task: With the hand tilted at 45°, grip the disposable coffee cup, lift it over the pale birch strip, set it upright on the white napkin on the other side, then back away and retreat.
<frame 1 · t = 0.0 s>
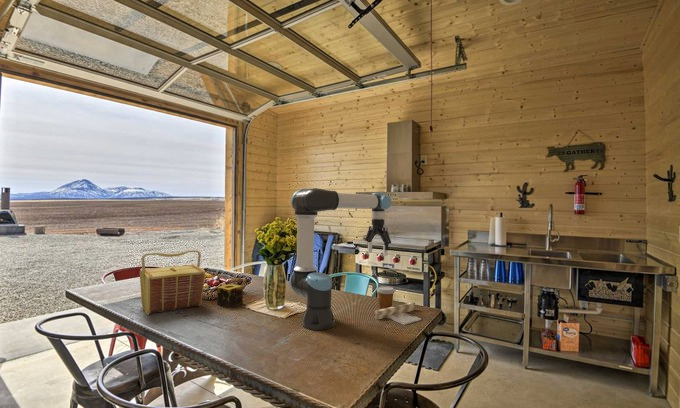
hand: (377, 254, 193), 28 cm above the table, tool pointing down, fingers open, 13 cm apart
white napkin: (403, 319, 163), on the table
picnic basket: (171, 307, 175), on the table
jamb strip: (395, 314, 170), on the table
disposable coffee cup: (385, 310, 177), on the table
candle: (229, 304, 183), on the table
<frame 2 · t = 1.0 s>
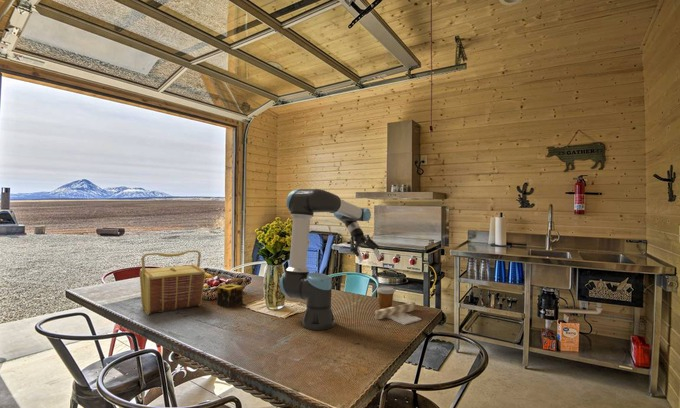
hand: (371, 259, 187), 26 cm above the table, tool tilted 45°, fingers open, 13 cm apart
nothing on the table moved.
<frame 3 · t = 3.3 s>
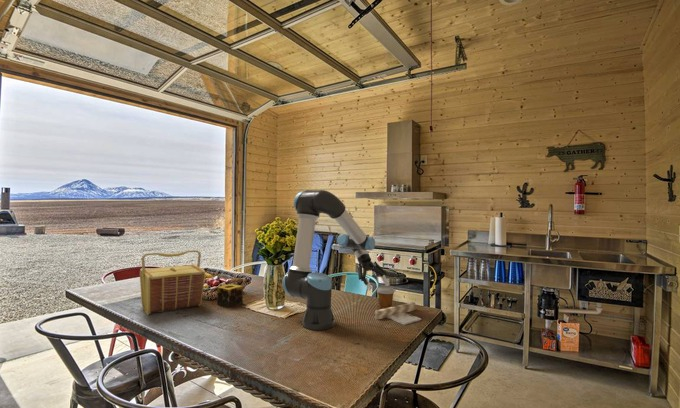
hand: (379, 287, 183), 11 cm above the table, tool tilted 45°, fingers open, 13 cm apart
nothing on the table moved.
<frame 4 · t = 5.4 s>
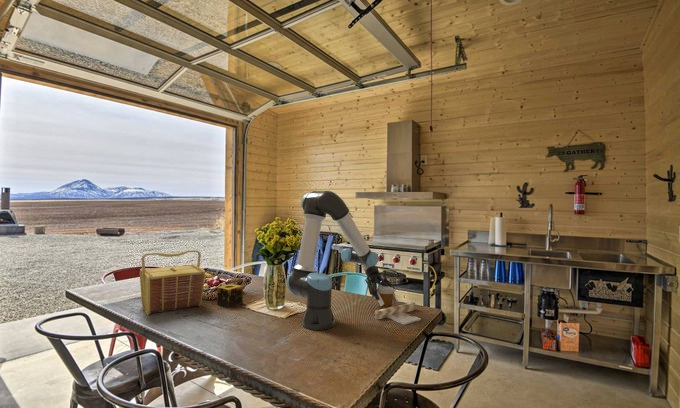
hand: (389, 303, 174), 4 cm above the table, tool tilted 45°, fingers closed on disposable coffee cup, 9 cm apart
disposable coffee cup: (385, 310, 177), on the table, touching gripper
everything else where it was.
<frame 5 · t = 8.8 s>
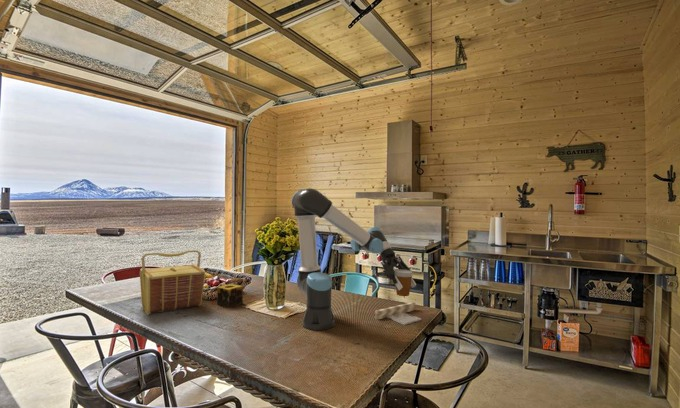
hand: (407, 287, 162), 16 cm above the table, tool tilted 45°, fingers closed on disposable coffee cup, 9 cm apart
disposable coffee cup: (402, 295, 165), point 12 cm above the table, touching gripper
everything else where it was.
when the fingers open (7 cm above the table, at t = 11.8 s): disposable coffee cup drops 1 cm, resting on white napkin.
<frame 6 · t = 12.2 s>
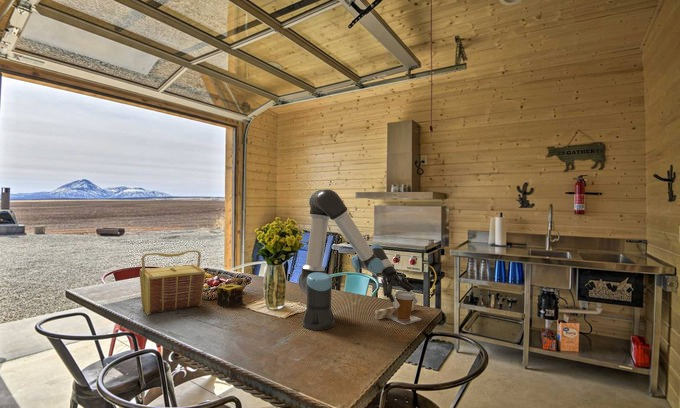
hand: (407, 304, 161), 8 cm above the table, tool tilted 45°, fingers open, 13 cm apart
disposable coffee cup: (403, 317, 163), point 1 cm above the table, touching white napkin
everything else where it was.
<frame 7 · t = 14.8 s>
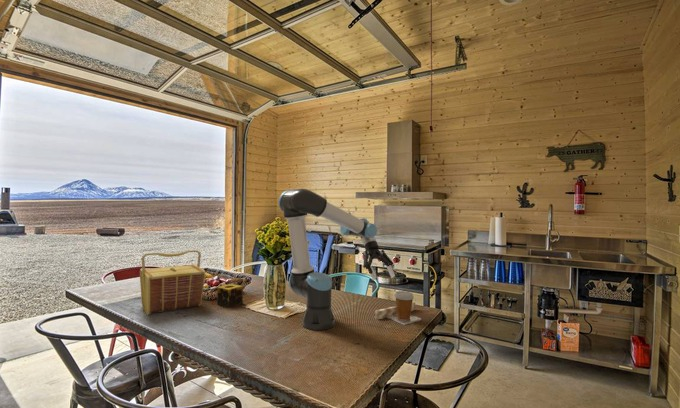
hand: (384, 278, 172), 18 cm above the table, tool tilted 35°, fingers open, 13 cm apart
nothing on the table moved.
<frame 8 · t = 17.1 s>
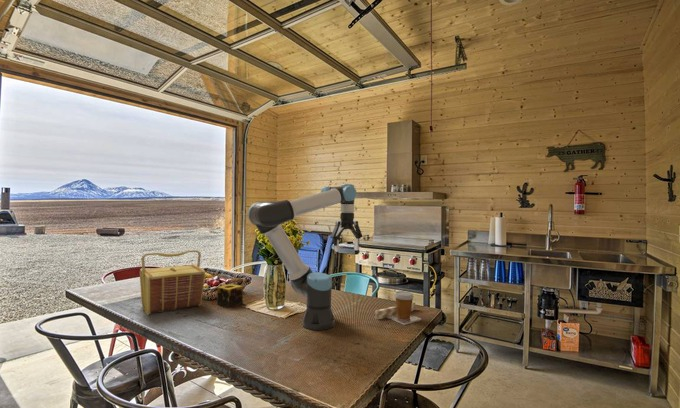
hand: (346, 250, 178), 32 cm above the table, tool pointing down, fingers open, 13 cm apart
nothing on the table moved.
at the end: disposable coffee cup 0.2 cm from the white napkin (horizontally); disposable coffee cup tilted 0°; the gripper is holding nothing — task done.
